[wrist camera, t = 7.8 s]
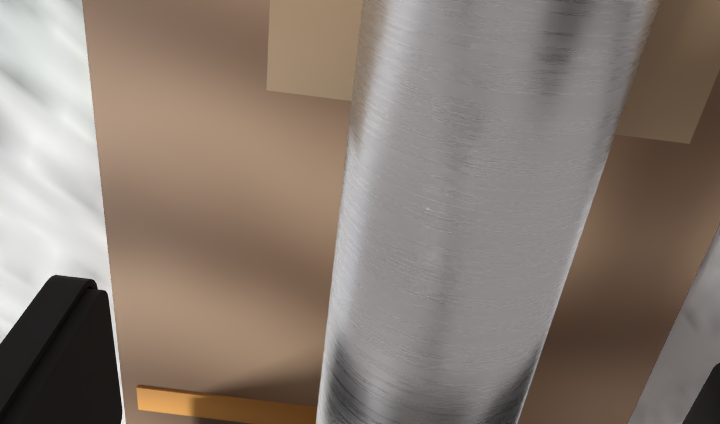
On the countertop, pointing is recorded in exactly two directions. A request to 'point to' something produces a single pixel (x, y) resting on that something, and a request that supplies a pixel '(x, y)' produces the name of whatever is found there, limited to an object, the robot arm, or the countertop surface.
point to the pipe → (467, 198)
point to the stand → (322, 202)
